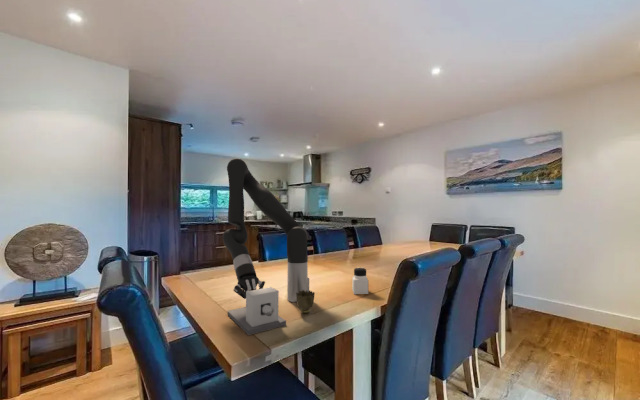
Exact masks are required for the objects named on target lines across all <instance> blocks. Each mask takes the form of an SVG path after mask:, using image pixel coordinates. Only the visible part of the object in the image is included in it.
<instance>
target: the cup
mask: <svg viewBox="0 0 640 400" xmlns="http://www.w3.org/2000/svg"><path fill="white" fill-rule="evenodd" d="M315 293H316V292H315V291H312V290H309V292H308V291H306V292H305V291H304V290H302V291H299V293H297V292H296V297H297V302H296V303H297V307H298V309H300V312H301V314H304V315H307V314H310V312H311V310H310V309H312V308H313V305H314V303H315V302H314V301H315Z"/></svg>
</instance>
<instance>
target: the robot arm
mask: <svg viewBox="0 0 640 400" xmlns="http://www.w3.org/2000/svg"><path fill="white" fill-rule="evenodd" d="M226 171H227V176H228V178H227V179H228V189H229V191H228V209H227V211H228V212H227V222H228V223H229V224H230V225H233V226H235V227H236V229H229V228H228V229H226V230H225V231H224V232H223V234H222V242H223V244H224V246H225V248H226V249H227V250H228V252H229V253H230V255H231V258H232V261H233V262H232V263H233V268H234V269H233V271H234V272H235V275H236V280H237V284H236V285H234V287H233V292H234V293H236V294H237V295H238V296H240V297H241V298H242V299H244V300H246V291H252V290H257V286H258V289H263V288H264V286H265V284H266V281H264V280H263V281H261V280H260V279H259V278H258V276H257V273H256V269H255V266H254V263H253V260H252V258H251V256H250V253H249V249H248V247H247V246H246V245H245V244H246V243H247V241H248V231H247V228H246V223H245V199H244V198H245V197H244V191H245V192H246V193H247V195H248V196H249V197H250V199H251V200H252V202H253V203H254V204H255V205H256V206H257V208H258V209H259V210H260V212H262V213H263V214H264V216H265V217H267V218H268V219H269V220H270V221H272V222H273V223H275V224H276V225H277V226H278V227H279V228H280V229H281V230H282V232H284V234H285V235H286V257H287V290H286V291H287V295H286V297H287V301H288V302H291V303H297V297H296V292H297V293H299V291H302V290H304V291H305V292H306V291H308V292H309V291H310V278H309V277H308V276H309V274H308V272H309V271H308V270H309V269H308V267H309V266H308V262H309V261H308V259H309V258H308V239H309V234H308V233H309V232H308V231H307V230H306V228H305V227H303V226H302V225H301V224H300V223H299V222H298V221H297V220H295V219H294V218H293V217H292V216H291V214H290V213H289V212H288V210H287V209H286V207H285V206H284V205H283V204H282V203H281V202H280V201H279V199H278V198H277V197H276V196H275V195H274V194H273V193H272V192H271V191H270V190H269V189H268V188H267V187H265V186H264V185H263V184H262V183H260V182H259V181H258V180H257V179H256V178H255V177H254V175H253V173H252V172H251V171H250V170H249V167H248V164H247V163H246V162H245V161H244V159H242V158H239V157H237V158H233V159H231V160H229V161H228V163H227V166H226Z"/></svg>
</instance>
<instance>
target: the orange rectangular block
mask: <svg viewBox="0 0 640 400" xmlns="http://www.w3.org/2000/svg"><path fill="white" fill-rule="evenodd" d="M261 312H263V313H264V314H265V315H267V316H271V315H272V314H273V312H274V310H273V308H272V307H270V306H269V305H267V304H261Z"/></svg>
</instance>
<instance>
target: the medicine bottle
mask: <svg viewBox="0 0 640 400" xmlns="http://www.w3.org/2000/svg"><path fill="white" fill-rule="evenodd" d="M367 277H368V276H367V269H366V268H365V267H355V268H354V270H353V276H352V277H351V280H352V281H351V282H352V287H351V289H352V290H351V291H352V293H353V295H356V294H368V295H369V279H368V278H367Z"/></svg>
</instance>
